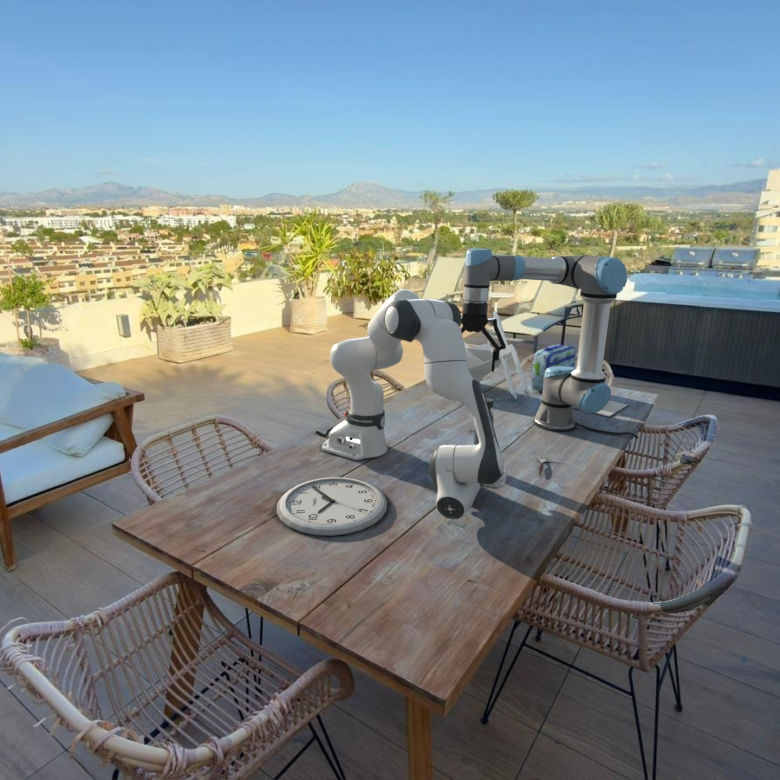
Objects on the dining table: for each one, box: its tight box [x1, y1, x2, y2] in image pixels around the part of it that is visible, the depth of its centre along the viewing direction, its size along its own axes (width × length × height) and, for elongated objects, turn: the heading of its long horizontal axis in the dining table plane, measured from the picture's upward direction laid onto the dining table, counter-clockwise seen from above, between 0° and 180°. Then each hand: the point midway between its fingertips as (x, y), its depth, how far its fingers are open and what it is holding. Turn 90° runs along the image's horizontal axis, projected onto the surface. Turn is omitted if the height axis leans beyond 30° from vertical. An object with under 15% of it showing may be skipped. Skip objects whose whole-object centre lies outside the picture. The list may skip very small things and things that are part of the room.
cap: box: [486, 396, 494, 409], centre depth 159 cm, size 4×4×2 cm
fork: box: [538, 451, 548, 475], centre depth 168 cm, size 3×16×2 cm, turn 160°
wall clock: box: [276, 476, 388, 537], centre depth 142 cm, size 30×2×30 cm
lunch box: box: [530, 344, 577, 392], centre depth 247 cm, size 26×11×21 cm, turn 134°
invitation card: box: [573, 399, 629, 418], centre depth 226 cm, size 21×1×15 cm
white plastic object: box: [464, 310, 531, 400], centre depth 245 cm, size 37×45×31 cm
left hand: (475, 461), depth 156 cm, fingers open, 8 cm apart
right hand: (470, 369), depth 164 cm, fingers open, 13 cm apart
